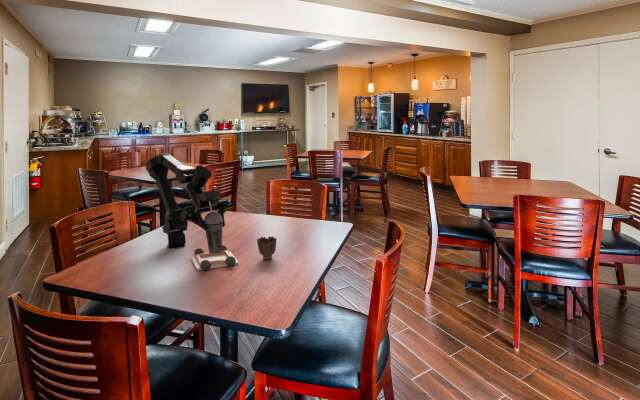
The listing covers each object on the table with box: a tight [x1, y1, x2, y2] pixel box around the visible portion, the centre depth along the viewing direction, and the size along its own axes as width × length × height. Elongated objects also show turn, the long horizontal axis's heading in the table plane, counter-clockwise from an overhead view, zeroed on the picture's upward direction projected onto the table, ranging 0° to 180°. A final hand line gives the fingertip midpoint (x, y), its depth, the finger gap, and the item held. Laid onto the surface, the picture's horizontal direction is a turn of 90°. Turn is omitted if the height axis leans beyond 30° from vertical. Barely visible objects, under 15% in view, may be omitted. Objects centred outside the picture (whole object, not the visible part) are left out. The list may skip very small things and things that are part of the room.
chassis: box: [190, 244, 240, 271], centre depth 158 cm, size 15×16×4 cm
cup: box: [256, 235, 277, 261], centre depth 160 cm, size 8×7×8 cm
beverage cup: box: [203, 201, 224, 254], centre depth 156 cm, size 7×7×20 cm
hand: (215, 228), depth 155 cm, fingers closed on beverage cup, 7 cm apart
